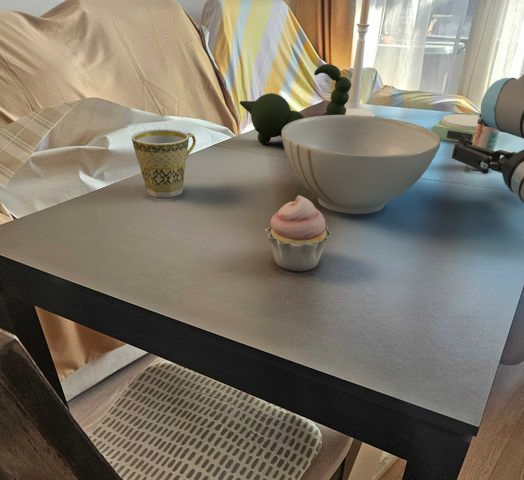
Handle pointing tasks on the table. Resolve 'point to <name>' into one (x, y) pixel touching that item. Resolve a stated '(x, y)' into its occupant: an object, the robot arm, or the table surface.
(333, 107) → the toy figurine
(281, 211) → the cupcake
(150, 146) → the ceramic cup
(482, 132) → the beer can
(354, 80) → the candlestick
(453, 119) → the kitchen scale
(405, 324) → the table surface
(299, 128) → the decorative bowl
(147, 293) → the table surface
